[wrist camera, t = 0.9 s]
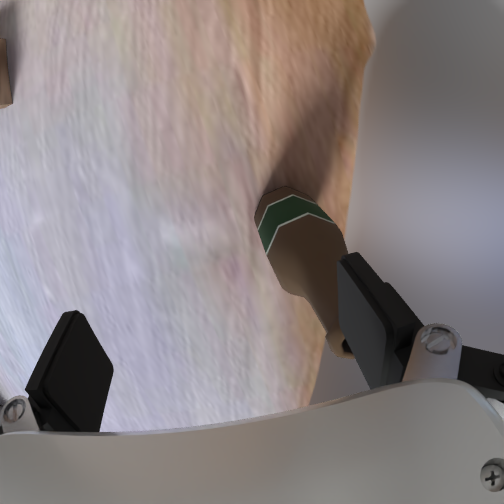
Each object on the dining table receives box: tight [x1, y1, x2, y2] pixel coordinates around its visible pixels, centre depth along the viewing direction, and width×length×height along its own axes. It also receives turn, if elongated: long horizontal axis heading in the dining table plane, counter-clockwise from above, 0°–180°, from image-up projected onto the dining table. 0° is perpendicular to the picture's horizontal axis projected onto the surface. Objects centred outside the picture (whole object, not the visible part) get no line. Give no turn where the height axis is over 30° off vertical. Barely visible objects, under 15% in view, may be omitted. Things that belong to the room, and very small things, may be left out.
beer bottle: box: [254, 186, 355, 359], centre depth 30 cm, size 8×8×24 cm
